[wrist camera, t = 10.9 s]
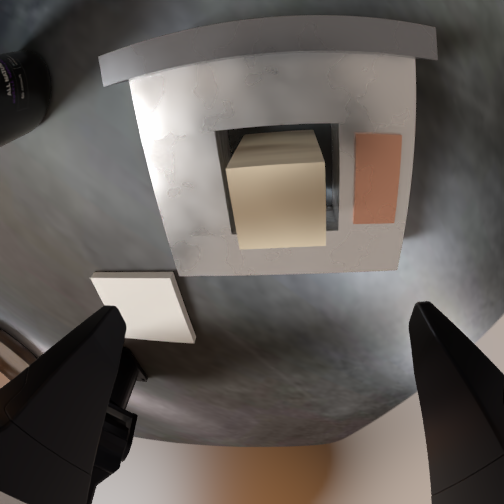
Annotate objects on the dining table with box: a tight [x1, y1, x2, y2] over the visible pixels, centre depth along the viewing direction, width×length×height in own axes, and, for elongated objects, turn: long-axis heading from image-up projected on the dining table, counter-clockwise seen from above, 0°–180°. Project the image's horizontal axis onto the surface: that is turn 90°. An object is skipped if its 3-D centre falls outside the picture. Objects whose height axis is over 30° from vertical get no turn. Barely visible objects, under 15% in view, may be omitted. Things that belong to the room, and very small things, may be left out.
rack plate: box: [98, 15, 438, 276], centre depth 15 cm, size 14×14×6 cm
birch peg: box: [226, 130, 326, 250], centre depth 15 cm, size 4×4×6 cm
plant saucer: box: [0, 329, 37, 380], centre depth 40 cm, size 21×21×3 cm
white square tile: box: [90, 272, 196, 343], centre depth 26 cm, size 8×8×1 cm
